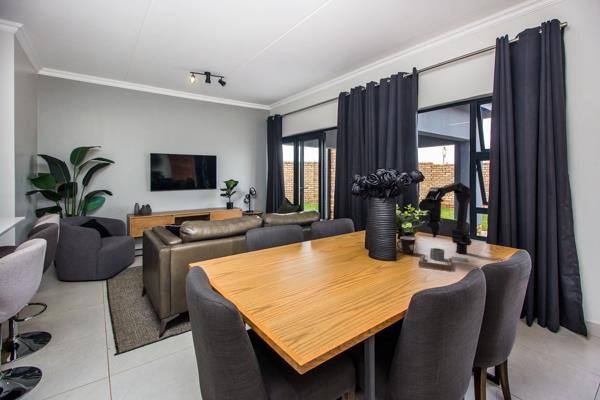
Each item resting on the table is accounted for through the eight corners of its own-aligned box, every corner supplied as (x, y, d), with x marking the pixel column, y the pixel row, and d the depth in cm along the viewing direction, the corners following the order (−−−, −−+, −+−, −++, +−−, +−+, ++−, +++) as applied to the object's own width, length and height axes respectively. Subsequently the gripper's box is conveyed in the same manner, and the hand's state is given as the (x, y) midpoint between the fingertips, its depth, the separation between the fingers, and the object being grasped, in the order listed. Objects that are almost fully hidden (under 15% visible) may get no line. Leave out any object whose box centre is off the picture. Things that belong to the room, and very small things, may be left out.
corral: (421, 259, 162) (422, 254, 162) (451, 263, 155) (452, 258, 154) (418, 267, 149) (418, 261, 149) (450, 271, 142) (451, 266, 142)
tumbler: (430, 257, 166) (431, 247, 166) (444, 259, 163) (444, 249, 162) (429, 260, 160) (430, 250, 160) (443, 262, 157) (444, 252, 156)
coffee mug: (412, 252, 178) (413, 236, 177) (417, 256, 169) (417, 239, 168) (393, 252, 179) (393, 236, 178) (396, 255, 170) (397, 239, 169)
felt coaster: (451, 257, 166) (451, 256, 166) (467, 259, 162) (467, 258, 162) (451, 261, 159) (451, 259, 159) (467, 263, 155) (467, 261, 155)
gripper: (422, 207, 173) (421, 232, 174) (417, 211, 157) (416, 239, 158) (442, 208, 167) (441, 234, 168) (439, 212, 151) (438, 241, 152)
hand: (434, 237), depth 162 cm, fingers closed
